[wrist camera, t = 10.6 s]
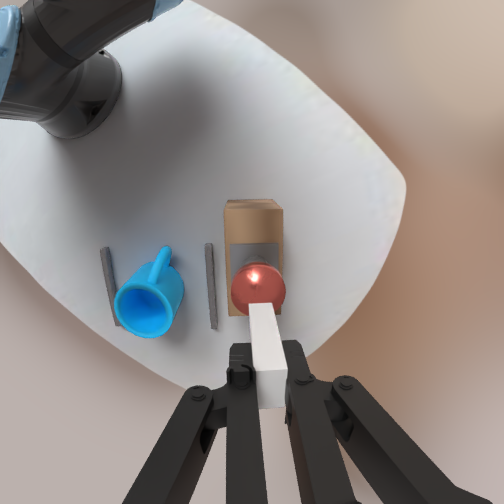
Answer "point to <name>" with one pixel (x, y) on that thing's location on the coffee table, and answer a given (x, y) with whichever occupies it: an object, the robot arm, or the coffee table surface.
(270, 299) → the red rounded piece
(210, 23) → the coffee table surface
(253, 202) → the end cabinet
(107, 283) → the pair of gray bars
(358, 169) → the coffee table surface
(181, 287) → the mug
